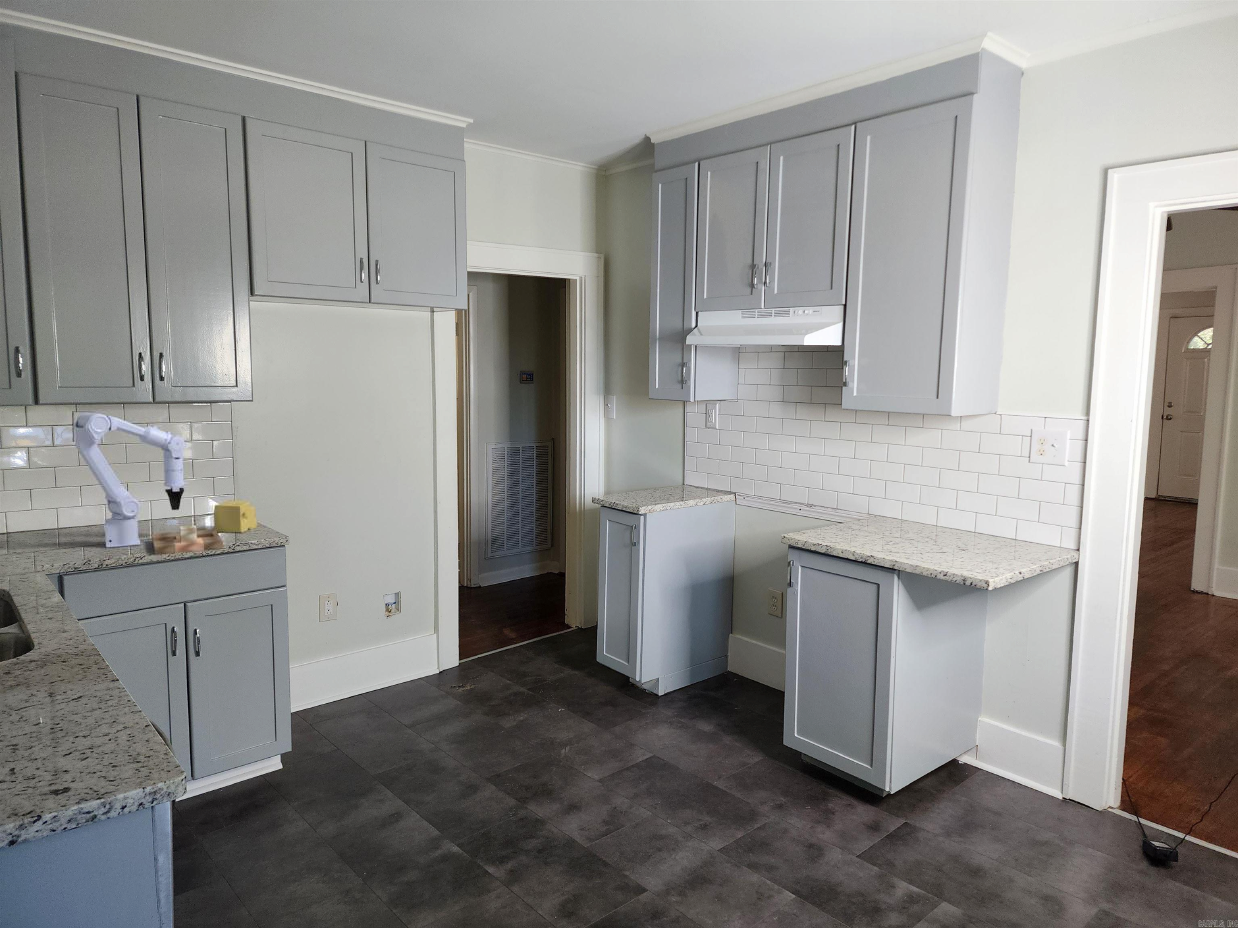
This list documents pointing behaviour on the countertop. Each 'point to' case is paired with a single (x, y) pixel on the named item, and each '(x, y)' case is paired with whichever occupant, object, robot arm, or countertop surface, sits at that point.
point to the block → (188, 534)
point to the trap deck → (172, 543)
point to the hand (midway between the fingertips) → (175, 509)
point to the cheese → (234, 516)
